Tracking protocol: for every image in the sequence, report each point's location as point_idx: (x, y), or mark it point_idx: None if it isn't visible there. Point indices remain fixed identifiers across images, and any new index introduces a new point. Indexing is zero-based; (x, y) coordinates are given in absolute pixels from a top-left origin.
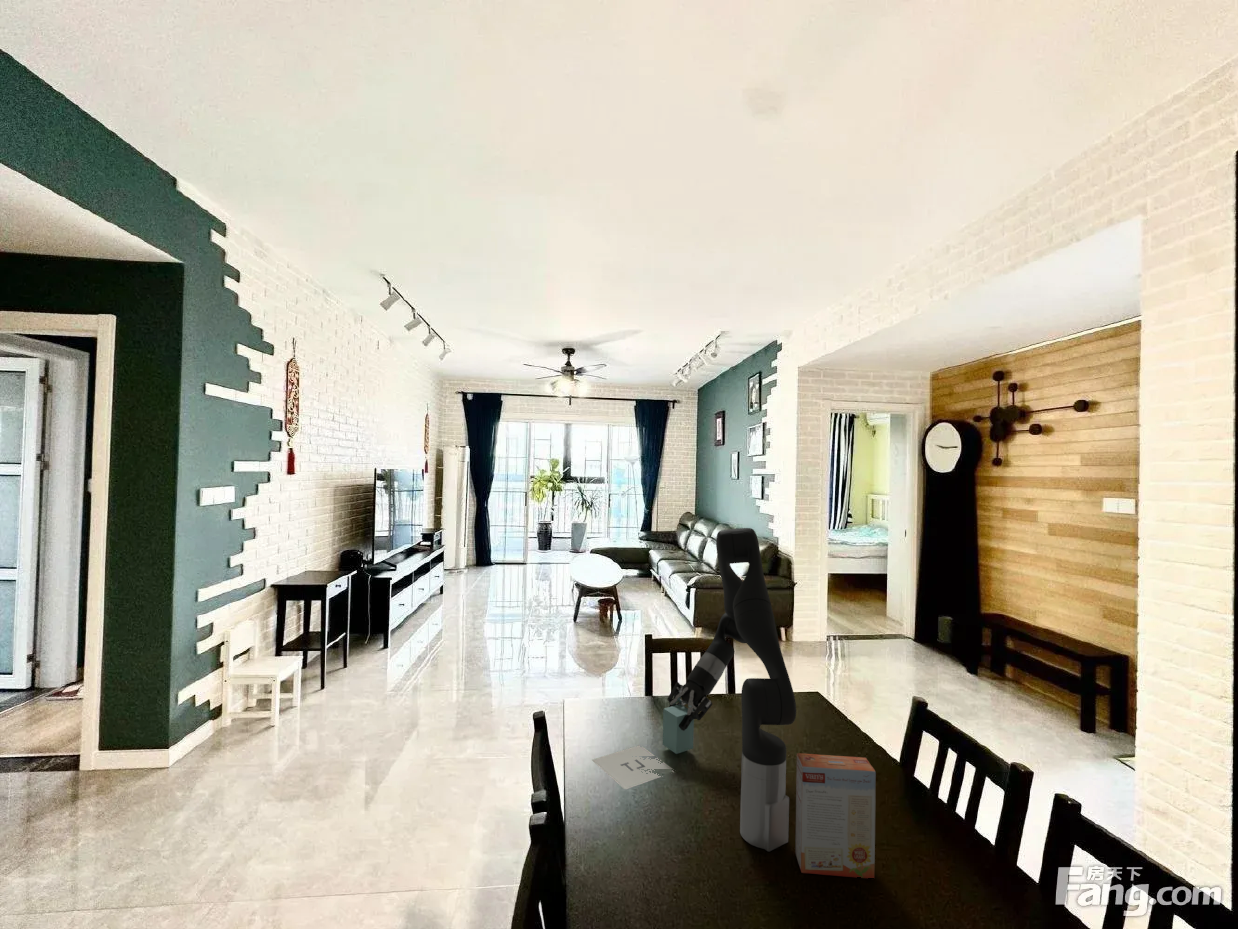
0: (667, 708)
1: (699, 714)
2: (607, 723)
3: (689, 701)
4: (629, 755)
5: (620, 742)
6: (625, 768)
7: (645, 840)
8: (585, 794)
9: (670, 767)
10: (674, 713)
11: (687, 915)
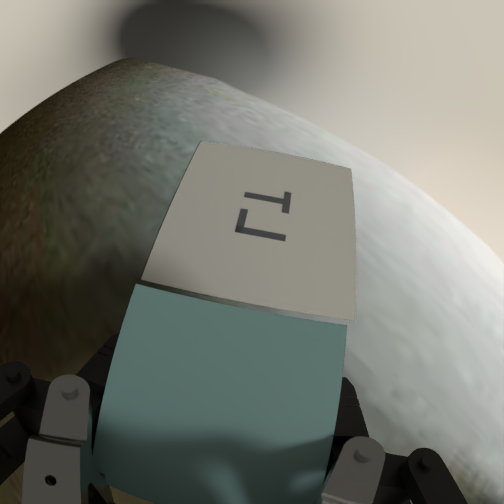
0: (325, 357)
1: (25, 436)
2: (487, 325)
3: (67, 486)
4: (318, 243)
5: (399, 282)
6: (267, 189)
7: (102, 109)
8: (248, 105)
9: (169, 285)
10: (194, 322)
11: (42, 102)
